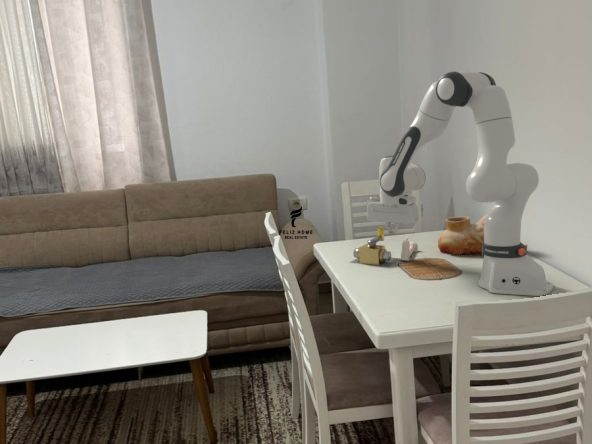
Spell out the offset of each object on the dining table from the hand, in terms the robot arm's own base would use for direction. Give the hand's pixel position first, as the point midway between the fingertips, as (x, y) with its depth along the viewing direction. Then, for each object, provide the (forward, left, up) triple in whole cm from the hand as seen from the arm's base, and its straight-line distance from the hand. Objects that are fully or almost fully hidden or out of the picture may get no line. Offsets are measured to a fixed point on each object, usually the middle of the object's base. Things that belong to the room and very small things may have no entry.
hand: (392, 233), depth 235 cm
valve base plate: (+5, +6, -10) cm, 12 cm away
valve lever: (+5, +4, -3) cm, 7 cm away
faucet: (-4, -6, -10) cm, 13 cm away
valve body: (+5, +8, -10) cm, 13 cm away
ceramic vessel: (-24, -21, -10) cm, 34 cm away
